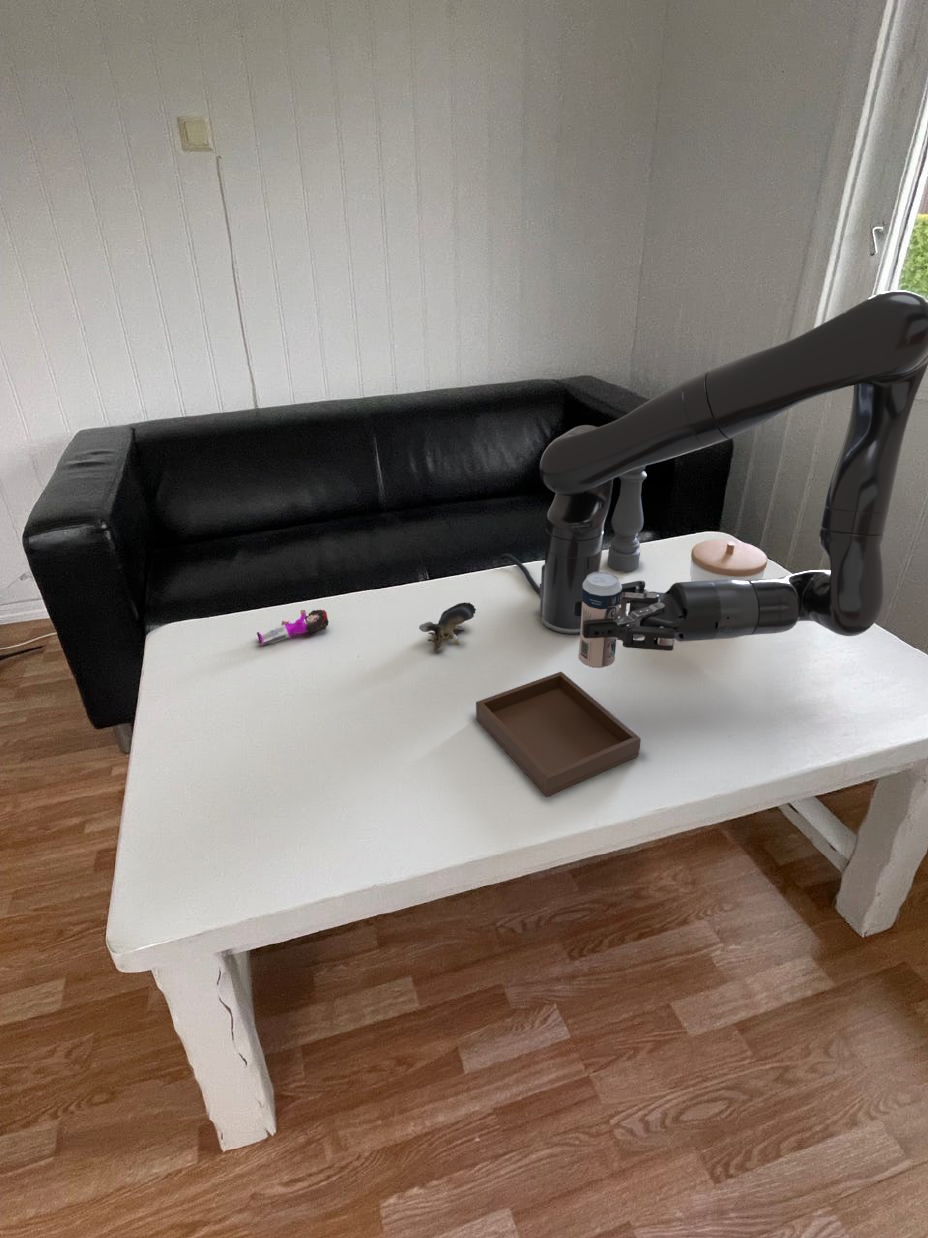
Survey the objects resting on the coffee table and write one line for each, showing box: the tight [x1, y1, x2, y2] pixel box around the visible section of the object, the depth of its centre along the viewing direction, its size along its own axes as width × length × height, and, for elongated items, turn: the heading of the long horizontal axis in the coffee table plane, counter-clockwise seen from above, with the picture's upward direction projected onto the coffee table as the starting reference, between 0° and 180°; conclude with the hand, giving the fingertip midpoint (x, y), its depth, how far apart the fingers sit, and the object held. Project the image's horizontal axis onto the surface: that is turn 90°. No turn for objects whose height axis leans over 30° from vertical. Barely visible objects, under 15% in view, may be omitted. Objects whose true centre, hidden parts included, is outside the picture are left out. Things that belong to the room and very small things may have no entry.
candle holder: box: [606, 465, 648, 573], centre depth 133 cm, size 6×6×25 cm
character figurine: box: [256, 609, 330, 647], centre depth 118 cm, size 6×5×12 cm
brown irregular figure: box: [418, 601, 477, 653], centre depth 115 cm, size 8×7×9 cm
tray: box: [475, 671, 642, 797], centre depth 94 cm, size 18×15×3 cm
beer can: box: [577, 571, 622, 669], centre depth 88 cm, size 5×5×12 cm
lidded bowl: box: [689, 539, 768, 582], centre depth 124 cm, size 13×13×11 cm
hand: (579, 618), depth 88 cm, fingers closed on beer can, 4 cm apart
